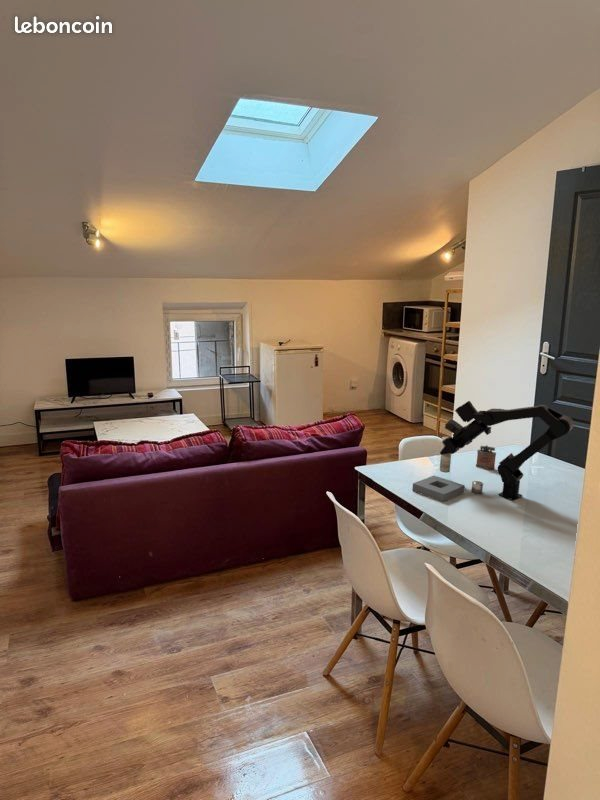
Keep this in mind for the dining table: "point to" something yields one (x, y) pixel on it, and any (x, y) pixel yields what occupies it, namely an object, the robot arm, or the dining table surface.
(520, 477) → the robot arm
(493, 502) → the dining table surface
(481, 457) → the lighter
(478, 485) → the steel stub
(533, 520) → the dining table surface
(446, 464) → the birch pin
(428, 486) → the plate
